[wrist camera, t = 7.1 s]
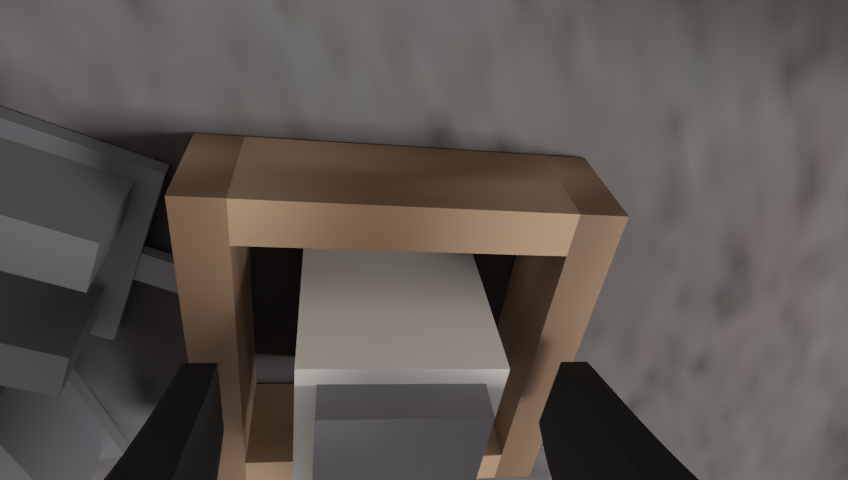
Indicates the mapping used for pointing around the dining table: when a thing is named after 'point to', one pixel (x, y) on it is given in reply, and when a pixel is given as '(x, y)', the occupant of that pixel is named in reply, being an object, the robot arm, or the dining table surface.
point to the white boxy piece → (394, 366)
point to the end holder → (385, 231)
